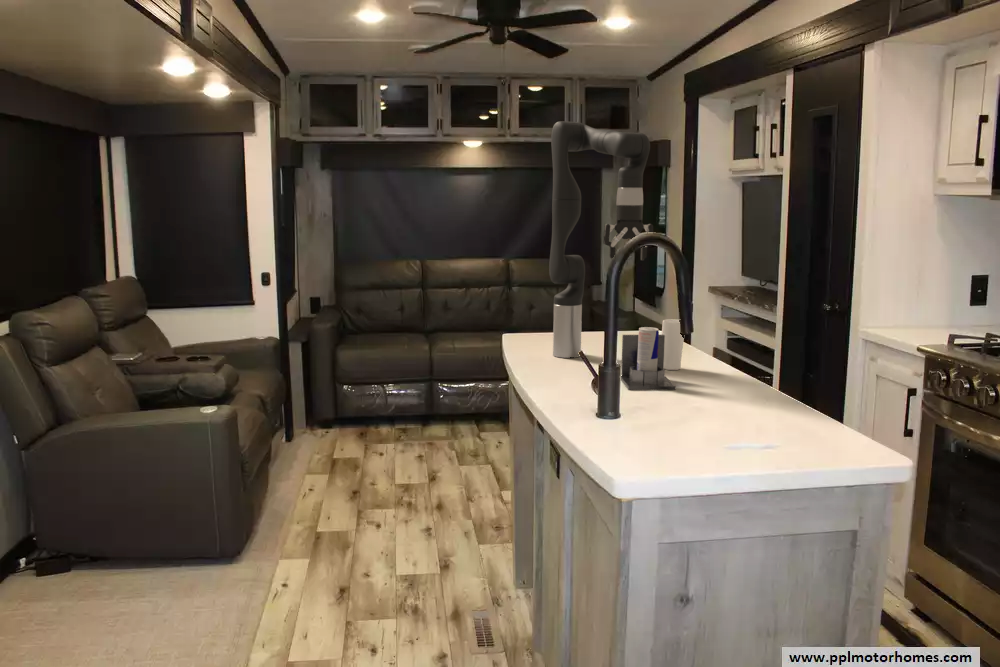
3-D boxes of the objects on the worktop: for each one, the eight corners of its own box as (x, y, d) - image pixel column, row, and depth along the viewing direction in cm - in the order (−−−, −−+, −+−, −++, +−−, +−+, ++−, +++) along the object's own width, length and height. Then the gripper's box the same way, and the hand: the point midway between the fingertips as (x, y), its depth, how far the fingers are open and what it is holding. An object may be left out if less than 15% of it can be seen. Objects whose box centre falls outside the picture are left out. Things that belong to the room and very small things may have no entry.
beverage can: (656, 383, 229) (659, 330, 227) (636, 382, 230) (638, 329, 228) (656, 378, 235) (659, 327, 232) (636, 377, 236) (638, 326, 233)
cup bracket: (619, 378, 239) (620, 334, 237) (663, 378, 240) (665, 334, 237) (628, 390, 225) (630, 343, 223) (675, 389, 226) (677, 343, 224)
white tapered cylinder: (681, 366, 256) (683, 319, 253) (684, 371, 249) (686, 322, 246) (659, 366, 256) (661, 318, 254) (661, 370, 250) (663, 322, 247)
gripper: (651, 203, 240) (649, 259, 243) (603, 203, 240) (601, 258, 243) (657, 204, 233) (654, 261, 236) (607, 203, 233) (605, 261, 235)
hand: (627, 260), depth 239 cm, fingers open, 8 cm apart
